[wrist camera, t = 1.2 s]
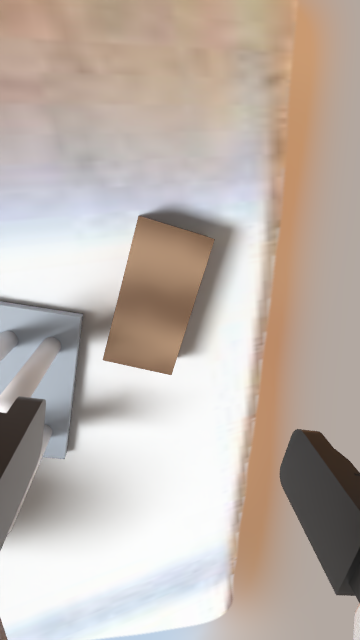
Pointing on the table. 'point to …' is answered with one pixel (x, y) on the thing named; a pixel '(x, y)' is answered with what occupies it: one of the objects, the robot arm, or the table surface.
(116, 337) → the brown wooden block
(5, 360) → the peg stand
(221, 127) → the table surface
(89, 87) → the table surface
